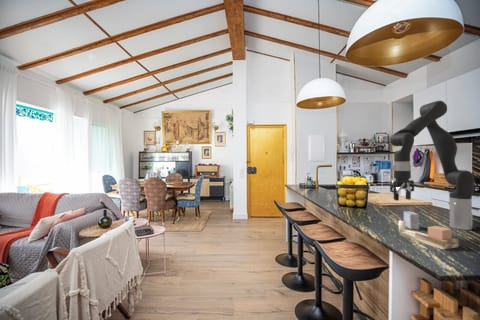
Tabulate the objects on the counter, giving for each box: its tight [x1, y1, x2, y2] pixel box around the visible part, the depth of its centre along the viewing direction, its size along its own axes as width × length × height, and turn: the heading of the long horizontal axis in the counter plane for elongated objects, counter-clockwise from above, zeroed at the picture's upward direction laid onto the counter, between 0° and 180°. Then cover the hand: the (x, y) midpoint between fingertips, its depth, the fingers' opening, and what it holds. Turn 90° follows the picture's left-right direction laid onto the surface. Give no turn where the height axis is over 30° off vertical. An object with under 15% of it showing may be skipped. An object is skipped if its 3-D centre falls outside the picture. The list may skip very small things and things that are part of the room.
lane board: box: [398, 230, 460, 251], centre depth 110 cm, size 10×20×4 cm, turn 16°
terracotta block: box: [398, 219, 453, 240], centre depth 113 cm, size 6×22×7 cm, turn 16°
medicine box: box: [403, 210, 420, 231], centre depth 132 cm, size 8×4×9 cm, turn 168°
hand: (402, 199), depth 122 cm, fingers open, 8 cm apart
